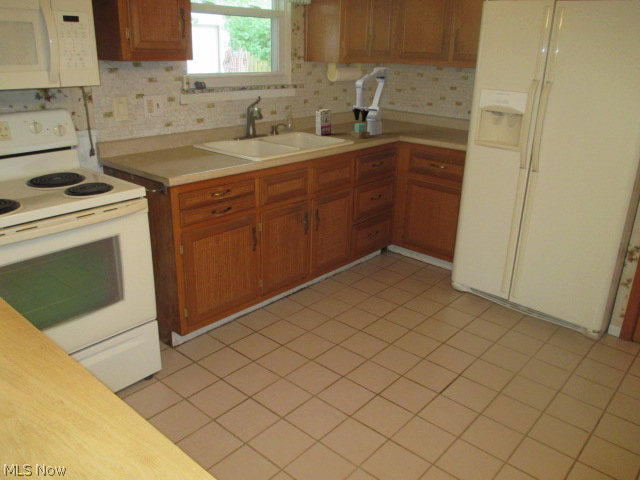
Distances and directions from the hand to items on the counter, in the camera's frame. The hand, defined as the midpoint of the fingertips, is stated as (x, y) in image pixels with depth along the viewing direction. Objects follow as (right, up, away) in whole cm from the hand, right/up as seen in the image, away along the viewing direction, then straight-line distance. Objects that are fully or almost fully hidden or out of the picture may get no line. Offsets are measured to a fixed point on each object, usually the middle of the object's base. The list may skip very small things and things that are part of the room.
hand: (360, 121), depth 345 cm
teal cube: (0, -6, +2) cm, 7 cm away
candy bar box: (-24, -7, +11) cm, 27 cm away
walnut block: (0, -10, +4) cm, 11 cm away
